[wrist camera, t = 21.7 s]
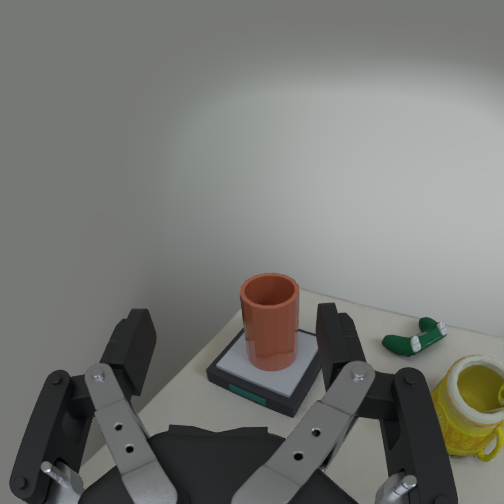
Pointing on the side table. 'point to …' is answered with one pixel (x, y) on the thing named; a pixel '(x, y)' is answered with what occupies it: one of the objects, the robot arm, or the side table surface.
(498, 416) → the mug
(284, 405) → the scale
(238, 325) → the side table surface
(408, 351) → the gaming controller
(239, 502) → the robot arm
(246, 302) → the cup
